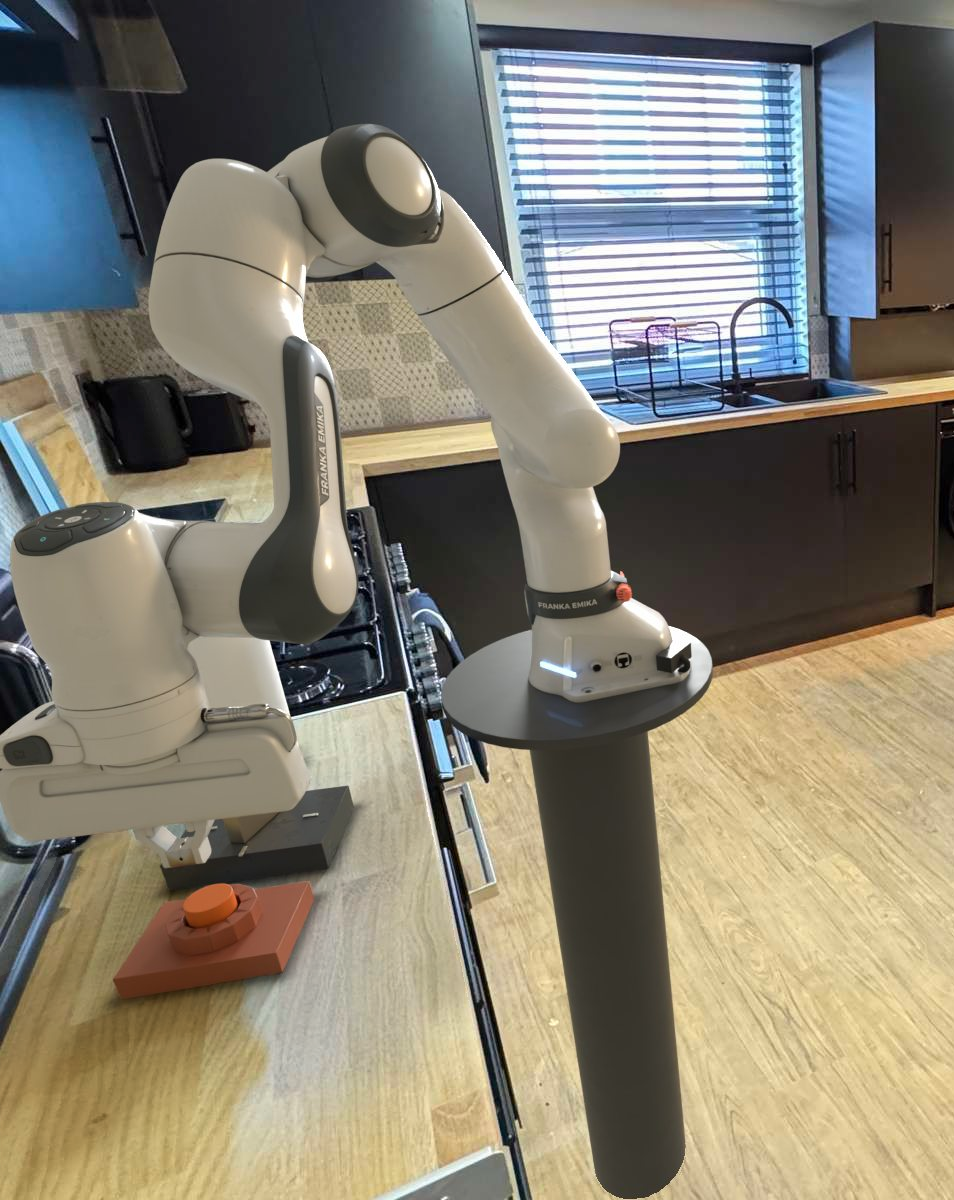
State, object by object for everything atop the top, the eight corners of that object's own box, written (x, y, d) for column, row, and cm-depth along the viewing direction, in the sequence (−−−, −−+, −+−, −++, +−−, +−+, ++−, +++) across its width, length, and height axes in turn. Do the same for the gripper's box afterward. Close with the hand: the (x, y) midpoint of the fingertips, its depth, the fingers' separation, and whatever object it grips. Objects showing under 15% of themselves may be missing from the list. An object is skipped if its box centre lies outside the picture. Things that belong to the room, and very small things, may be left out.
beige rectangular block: (274, 802, 88) (266, 772, 87) (289, 803, 88) (280, 773, 86) (229, 842, 82) (219, 810, 81) (245, 843, 82) (234, 811, 81)
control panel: (355, 806, 92) (349, 782, 91) (327, 870, 83) (320, 844, 82) (213, 825, 90) (205, 800, 88) (167, 893, 80) (157, 866, 79)
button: (244, 896, 74) (239, 880, 74) (228, 925, 71) (222, 908, 70) (198, 902, 74) (193, 886, 73) (180, 932, 70) (174, 916, 70)
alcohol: (215, 800, 94) (130, 544, 82) (215, 763, 101) (137, 522, 89) (304, 774, 98) (236, 529, 87) (299, 741, 105) (235, 509, 94)
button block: (314, 899, 79) (304, 865, 77) (282, 972, 71) (270, 936, 69) (171, 921, 77) (157, 886, 75) (120, 999, 68) (104, 962, 67)
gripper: (300, 683, 70) (334, 821, 75) (14, 710, 66) (72, 854, 71) (273, 721, 64) (312, 867, 69) (-42, 753, 60) (25, 906, 65)
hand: (188, 861), depth 70 cm, fingers closed
